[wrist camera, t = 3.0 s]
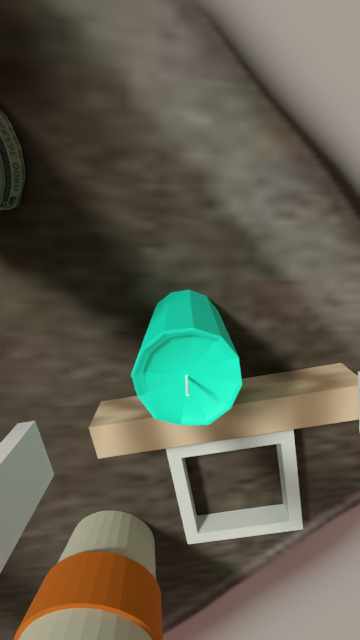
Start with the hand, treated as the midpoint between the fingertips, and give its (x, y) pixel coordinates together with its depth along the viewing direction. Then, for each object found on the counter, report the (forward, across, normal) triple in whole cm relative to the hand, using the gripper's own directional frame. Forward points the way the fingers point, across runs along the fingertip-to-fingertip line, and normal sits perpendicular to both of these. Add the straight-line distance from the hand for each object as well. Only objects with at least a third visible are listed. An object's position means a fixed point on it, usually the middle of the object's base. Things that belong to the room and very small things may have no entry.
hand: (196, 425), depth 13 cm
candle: (+15, 0, 0) cm, 15 cm away
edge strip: (+14, +2, -8) cm, 16 cm away
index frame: (+14, +2, -16) cm, 22 cm away
